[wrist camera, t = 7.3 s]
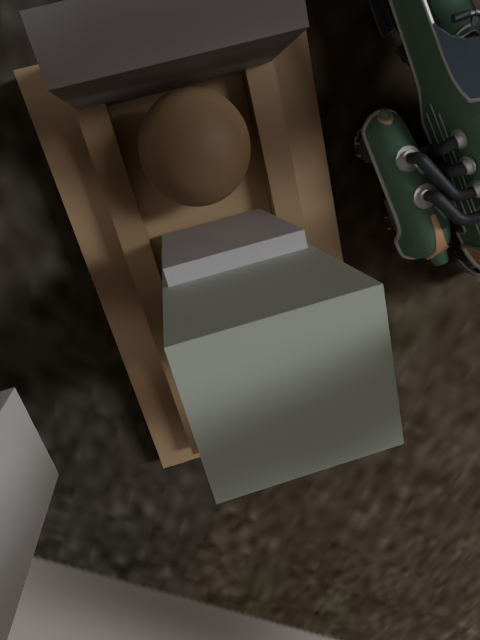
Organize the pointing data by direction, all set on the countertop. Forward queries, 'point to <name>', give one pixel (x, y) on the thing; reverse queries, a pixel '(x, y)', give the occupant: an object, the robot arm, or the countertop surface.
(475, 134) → the hoverbike
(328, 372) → the block
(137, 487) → the countertop surface
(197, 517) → the countertop surface
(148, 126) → the walnut
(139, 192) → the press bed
